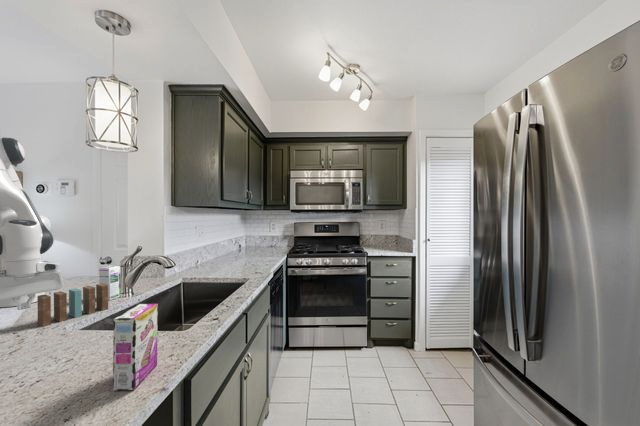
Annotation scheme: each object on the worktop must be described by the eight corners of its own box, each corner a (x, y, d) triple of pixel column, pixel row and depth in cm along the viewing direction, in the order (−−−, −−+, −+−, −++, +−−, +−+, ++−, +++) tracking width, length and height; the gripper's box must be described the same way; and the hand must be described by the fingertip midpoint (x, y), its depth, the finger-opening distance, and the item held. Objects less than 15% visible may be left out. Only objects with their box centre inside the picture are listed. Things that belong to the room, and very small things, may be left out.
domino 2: (59, 322, 105) (59, 294, 105) (54, 319, 107) (53, 292, 107) (66, 320, 106) (66, 293, 106) (60, 317, 109) (60, 291, 109)
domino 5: (102, 310, 117) (102, 285, 116) (96, 308, 119) (96, 284, 119) (108, 309, 118) (107, 284, 118) (101, 307, 121) (101, 283, 121)
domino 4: (89, 314, 113) (89, 288, 112) (83, 312, 115) (82, 286, 115) (95, 312, 114) (95, 287, 114) (89, 310, 117) (88, 285, 117)
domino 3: (75, 314, 113) (75, 288, 113) (81, 316, 110) (81, 290, 110) (69, 315, 111) (68, 289, 111) (75, 318, 109) (74, 291, 109)
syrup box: (109, 300, 129) (109, 268, 129) (98, 299, 131) (98, 267, 130) (120, 296, 135) (120, 265, 135) (110, 296, 136) (110, 265, 136)
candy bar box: (135, 391, 65) (135, 318, 65) (112, 392, 65) (111, 319, 64) (159, 364, 76) (158, 302, 76) (139, 365, 76) (138, 303, 76)
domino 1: (43, 326, 101) (43, 297, 101) (37, 323, 103) (37, 295, 103) (51, 324, 103) (50, 296, 102) (45, 321, 105) (44, 294, 105)
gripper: (-20, 275, 87) (-20, 320, 88) (65, 263, 105) (65, 301, 106) (-27, 272, 91) (-26, 316, 91) (57, 262, 108) (57, 299, 109)
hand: (24, 308), depth 98 cm, fingers closed
